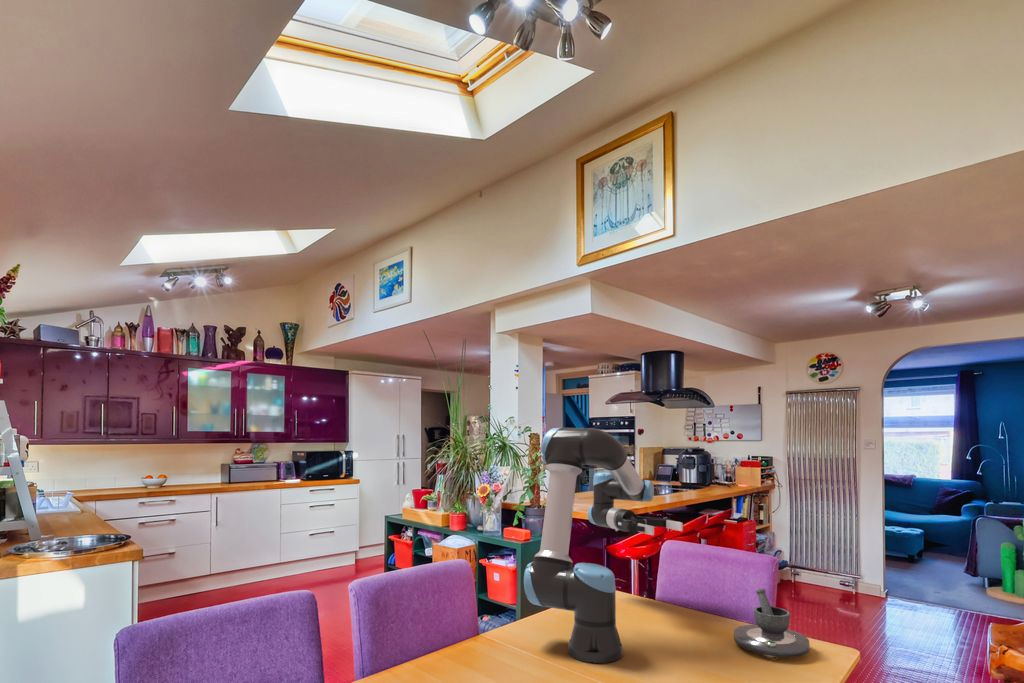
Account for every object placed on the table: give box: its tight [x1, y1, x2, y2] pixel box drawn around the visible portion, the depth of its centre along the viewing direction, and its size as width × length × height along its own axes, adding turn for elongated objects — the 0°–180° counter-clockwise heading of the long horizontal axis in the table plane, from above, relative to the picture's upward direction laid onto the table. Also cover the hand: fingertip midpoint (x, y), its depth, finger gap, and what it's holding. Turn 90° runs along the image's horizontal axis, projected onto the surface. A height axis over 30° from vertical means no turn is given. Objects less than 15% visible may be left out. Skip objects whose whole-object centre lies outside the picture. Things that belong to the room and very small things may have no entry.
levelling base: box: [733, 624, 811, 660], centre depth 174 cm, size 20×20×4 cm
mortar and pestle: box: [753, 588, 791, 640], centre depth 175 cm, size 11×9×12 cm
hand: (667, 528), depth 197 cm, fingers open, 13 cm apart
